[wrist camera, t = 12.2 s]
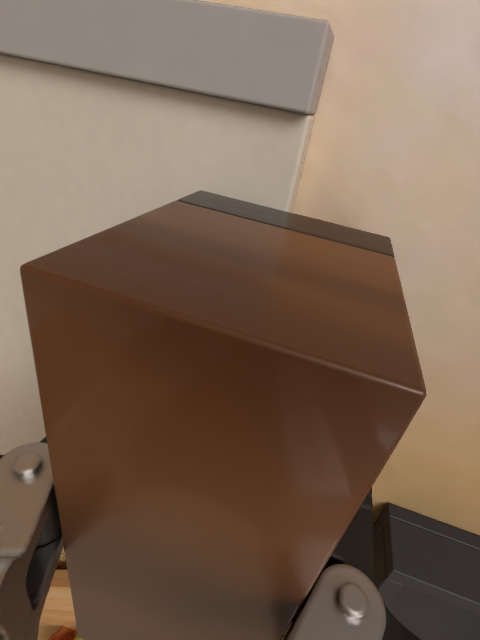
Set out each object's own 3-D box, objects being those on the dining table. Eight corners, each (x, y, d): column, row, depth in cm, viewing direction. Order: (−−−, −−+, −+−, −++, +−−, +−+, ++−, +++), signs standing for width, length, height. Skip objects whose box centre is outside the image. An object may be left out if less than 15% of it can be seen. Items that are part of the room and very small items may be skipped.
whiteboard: (-247, -59, 11) (-319, -80, 10) (335, 34, 8) (330, 20, 7) (-54, 444, 23) (-77, 461, 22) (209, 555, 20) (199, 582, 19)
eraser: (199, 189, 10) (15, 264, 4) (391, 237, 9) (429, 394, 4) (168, 472, 16) (76, 637, 11) (278, 515, 15) (235, 716, 10)
